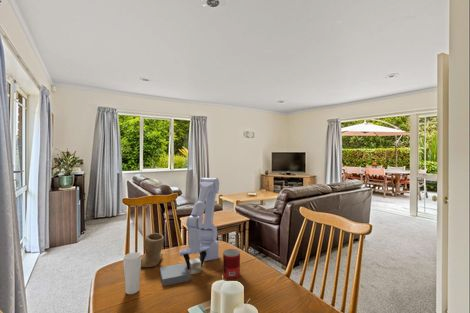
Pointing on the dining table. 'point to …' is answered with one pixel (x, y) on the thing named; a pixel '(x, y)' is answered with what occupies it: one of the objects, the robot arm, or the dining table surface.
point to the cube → (195, 266)
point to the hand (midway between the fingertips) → (194, 267)
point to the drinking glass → (132, 272)
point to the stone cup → (152, 250)
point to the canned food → (231, 263)
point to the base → (174, 274)
